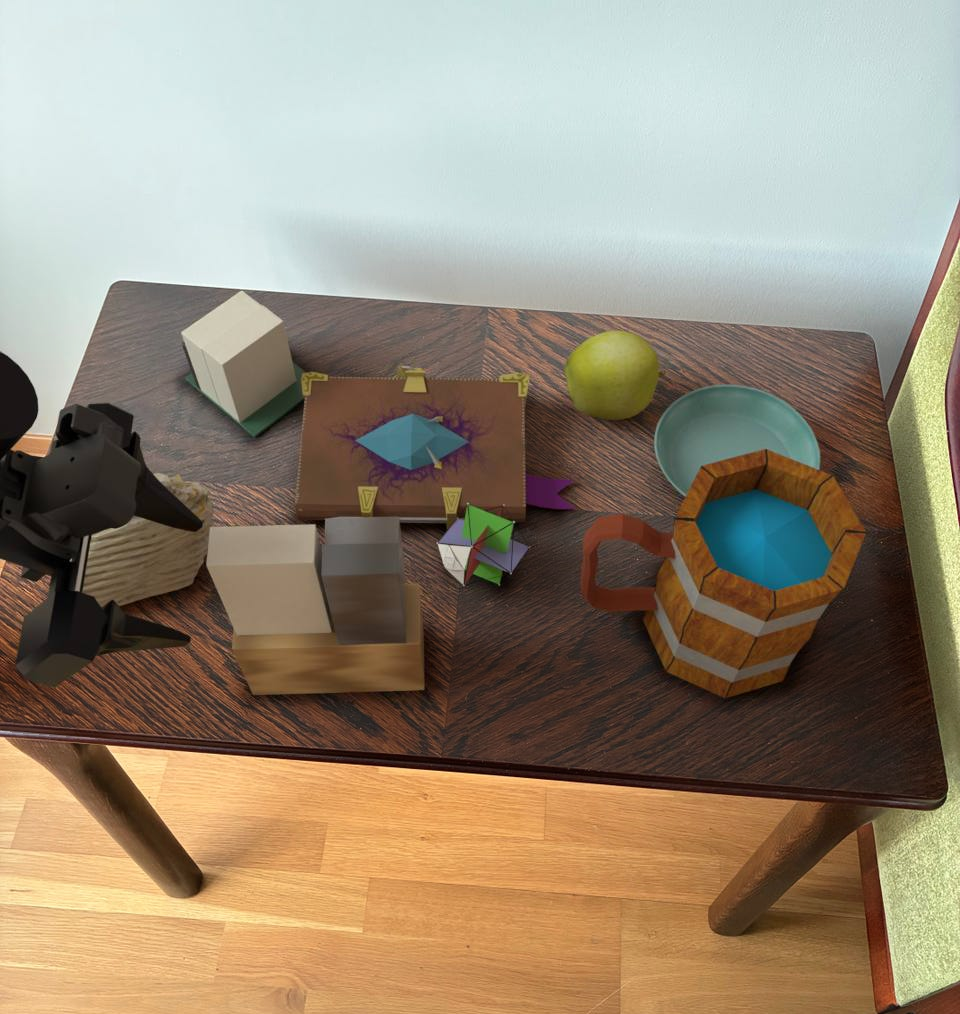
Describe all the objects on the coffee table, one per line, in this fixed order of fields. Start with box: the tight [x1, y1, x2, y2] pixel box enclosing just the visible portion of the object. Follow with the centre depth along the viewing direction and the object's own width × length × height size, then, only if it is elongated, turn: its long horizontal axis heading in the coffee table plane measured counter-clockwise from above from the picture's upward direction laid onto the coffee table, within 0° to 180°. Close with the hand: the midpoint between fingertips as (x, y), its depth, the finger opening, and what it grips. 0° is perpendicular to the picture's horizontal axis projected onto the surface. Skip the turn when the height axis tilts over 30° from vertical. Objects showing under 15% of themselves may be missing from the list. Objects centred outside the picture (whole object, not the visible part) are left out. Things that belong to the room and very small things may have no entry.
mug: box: [580, 449, 867, 699], centre depth 79 cm, size 20×14×15 cm
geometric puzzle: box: [436, 503, 531, 587], centre depth 85 cm, size 7×7×8 cm
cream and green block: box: [180, 290, 307, 439], centre depth 93 cm, size 8×10×8 cm
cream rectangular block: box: [205, 523, 332, 636], centre depth 71 cm, size 7×3×10 cm, turn 92°
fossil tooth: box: [70, 472, 214, 607], centre depth 82 cm, size 12×6×15 cm
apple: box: [563, 330, 666, 421], centre depth 92 cm, size 8×9×8 cm
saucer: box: [653, 383, 821, 498], centre depth 92 cm, size 15×15×3 cm
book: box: [294, 362, 576, 531], centre depth 91 cm, size 16×25×5 cm, turn 90°
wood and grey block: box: [231, 517, 426, 696], centre depth 75 cm, size 14×5×18 cm, turn 92°
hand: (194, 583), depth 71 cm, fingers open, 9 cm apart
